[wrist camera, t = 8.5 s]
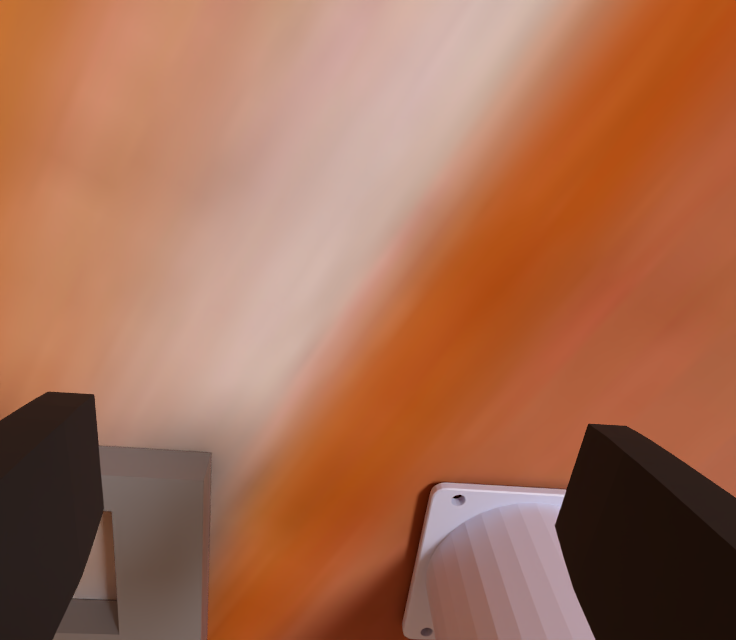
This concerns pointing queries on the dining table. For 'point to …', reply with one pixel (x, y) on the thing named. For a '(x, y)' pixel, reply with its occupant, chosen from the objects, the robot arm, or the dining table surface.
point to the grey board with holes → (152, 548)
